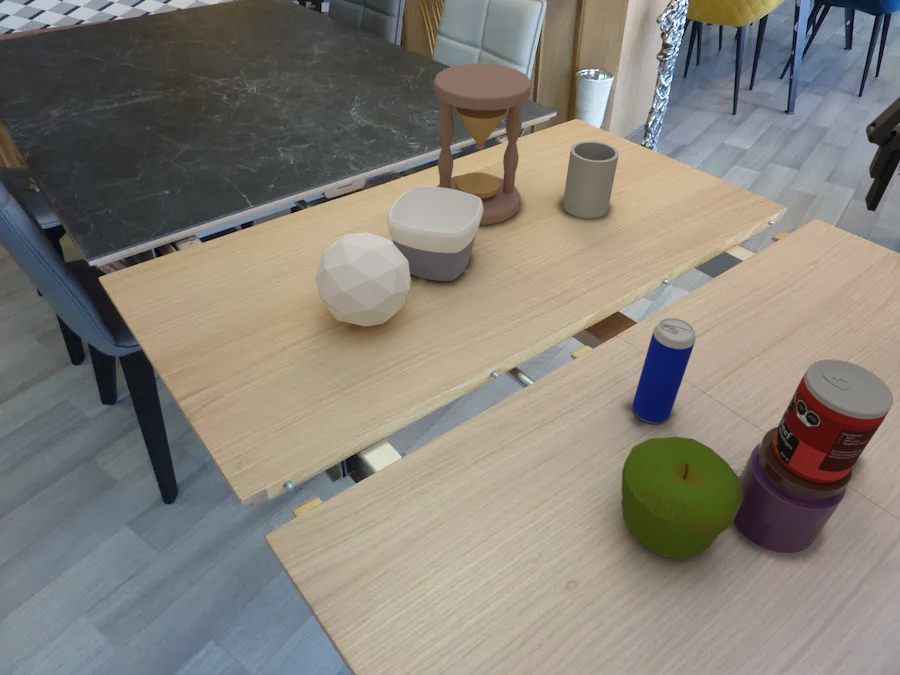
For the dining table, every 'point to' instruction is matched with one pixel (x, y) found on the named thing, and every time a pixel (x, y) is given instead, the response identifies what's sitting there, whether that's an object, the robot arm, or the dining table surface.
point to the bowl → (435, 230)
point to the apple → (678, 495)
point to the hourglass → (482, 130)
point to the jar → (783, 502)
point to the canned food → (830, 420)
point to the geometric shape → (363, 279)
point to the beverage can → (663, 369)
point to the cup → (590, 179)
